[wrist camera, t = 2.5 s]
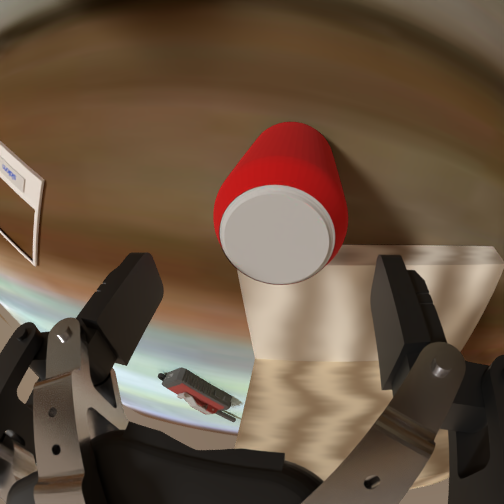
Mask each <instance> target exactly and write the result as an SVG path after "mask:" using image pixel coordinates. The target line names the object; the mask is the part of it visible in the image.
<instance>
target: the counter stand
mask: <svg viewBox="0 0 504 504" xmlns="http://www.w3.org/2000/svg"><path fill="white" fill-rule="evenodd" d="M378 255H401V256H402V259H403V261H404V264H405V266H406V269H407V270H415V271H416V272H417V273H418V274H419V275H420V276H421V277H422V278H423V279H424V280H425V283H426V285H427V288H428V290H429V295H431V298H432V300H433V305H434V306H435V308H436V311H437V314H438V317H439V319H440V322H441V325H442V328H443V331H444V334H445V337H446V340H447V343H448V344H451V345H453V346H454V347H456V348H457V349H458V350H459V351H460V352H461V350H462V349H463V347H464V345H465V344H466V342H467V340H468V339H469V337H470V335H471V334H472V332H473V330H474V328H475V327H476V325H477V323H478V321H479V319H480V318H481V316H482V314H483V312H484V310H485V308H486V306H487V304H488V302H489V300H490V298H491V296H492V294H493V292H494V290H495V287H496V285H497V283H498V281H499V278H500V276H501V274H502V271H503V269H504V261H503V260H502V258H501V257H500V255H499V254H498V253H497V251H496V250H495V248H494V247H493V246H433V245H342V246H341V248H340V250H339V251H338V253H337V254H336V256H335V257H334V258H333V259H332V260H331V261H330V263H328V264H327V265H326V266H325V267H324V268H323V269H322V270H321V271H319V272H318V273H317V274H316V275H314V276H312V277H311V278H309V279H307V280H304V281H302V282H299V283H295V284H289V285H273V284H266V283H263V282H259V281H256V280H254V279H252V278H250V277H248V276H246V275H244V274H243V273H241V272H240V271H239V270H238V269H237V271H238V276H239V281H240V286H241V291H242V296H243V301H244V306H245V311H246V316H247V321H248V326H249V331H250V336H251V341H252V345H253V350H254V355H255V362H254V366H253V371H252V375H251V380H250V384H249V389H248V393H247V397H246V402H245V406H244V410H243V415H242V419H241V423H240V427H239V432H238V436H237V440H236V444H235V448H234V449H239V448H243V449H250V450H259V451H268V452H280V453H285V460H287V461H290V462H293V463H296V464H298V465H300V466H303V467H305V468H306V469H308V470H310V471H312V472H313V473H314V474H316V475H317V476H318V477H320V478H321V479H322V480H323V481H325V480H326V479H327V478H328V477H329V476H330V475H331V474H332V473H333V472H334V471H335V470H336V468H337V467H338V466H339V465H340V464H341V463H342V462H343V461H344V460H345V459H346V457H347V456H348V455H349V454H350V453H351V452H352V450H353V449H354V448H355V447H356V446H357V445H358V443H359V442H360V441H361V440H362V438H363V437H364V436H365V435H366V433H367V432H368V431H369V430H370V428H371V427H372V426H373V424H374V423H375V422H376V420H377V419H378V418H379V416H380V415H381V414H382V413H383V411H384V410H385V409H386V407H387V406H388V404H389V403H390V401H391V400H392V398H393V393H392V390H382V389H381V379H380V369H379V360H378V352H377V345H376V338H375V331H374V325H373V318H372V312H371V305H370V295H371V288H372V283H373V278H374V272H375V267H376V261H377V257H378ZM434 442H435V443H436V445H435V449H434V451H433V453H432V455H431V457H430V459H429V460H428V462H427V463H426V465H425V467H424V468H423V470H422V471H421V473H420V474H419V476H418V477H417V479H416V480H415V482H414V483H413V485H412V486H411V488H410V489H413V488H418V487H423V486H428V485H432V484H436V483H438V482H440V481H443V480H445V479H447V478H449V439H448V430H444V429H439V431H438V433H437V435H436V437H435V439H434Z"/></svg>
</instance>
